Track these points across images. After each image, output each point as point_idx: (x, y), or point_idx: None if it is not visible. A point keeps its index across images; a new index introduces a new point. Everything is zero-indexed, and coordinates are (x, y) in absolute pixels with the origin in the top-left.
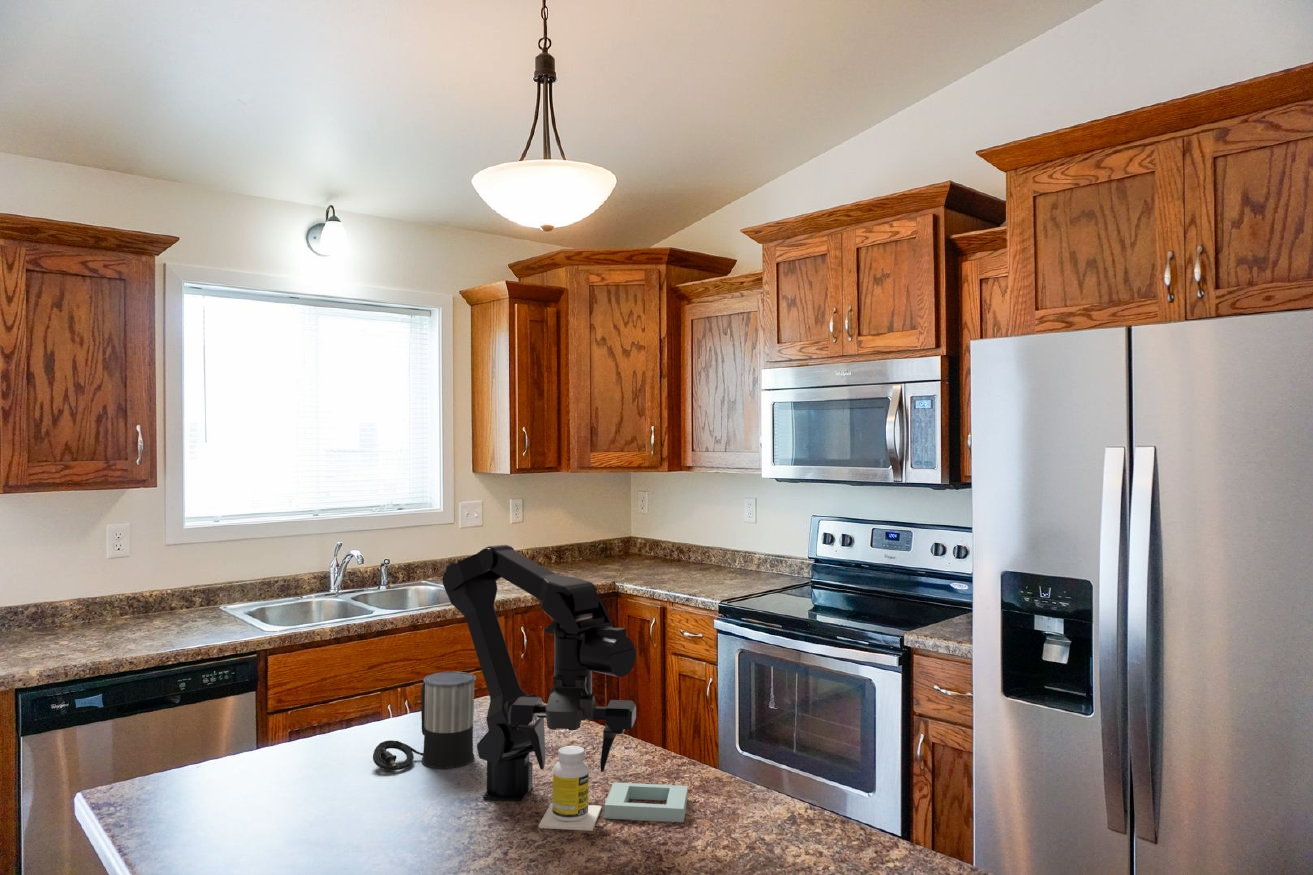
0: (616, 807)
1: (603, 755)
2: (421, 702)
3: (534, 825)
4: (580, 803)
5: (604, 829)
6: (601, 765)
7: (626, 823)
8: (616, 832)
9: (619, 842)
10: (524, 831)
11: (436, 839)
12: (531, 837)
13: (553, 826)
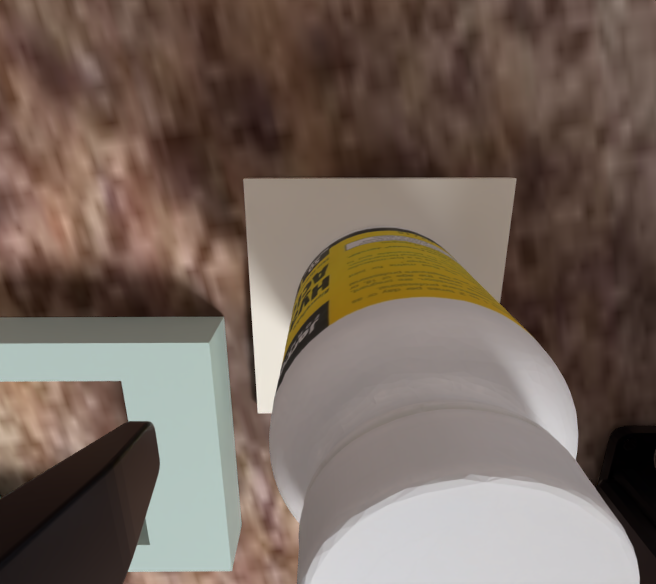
0: (150, 338)
1: (13, 519)
2: None
3: (534, 202)
4: (317, 271)
5: (193, 201)
6: (113, 447)
7: (110, 277)
8: (127, 175)
9: (78, 58)
10: (577, 128)
11: None
12: (535, 59)
13: (440, 179)
